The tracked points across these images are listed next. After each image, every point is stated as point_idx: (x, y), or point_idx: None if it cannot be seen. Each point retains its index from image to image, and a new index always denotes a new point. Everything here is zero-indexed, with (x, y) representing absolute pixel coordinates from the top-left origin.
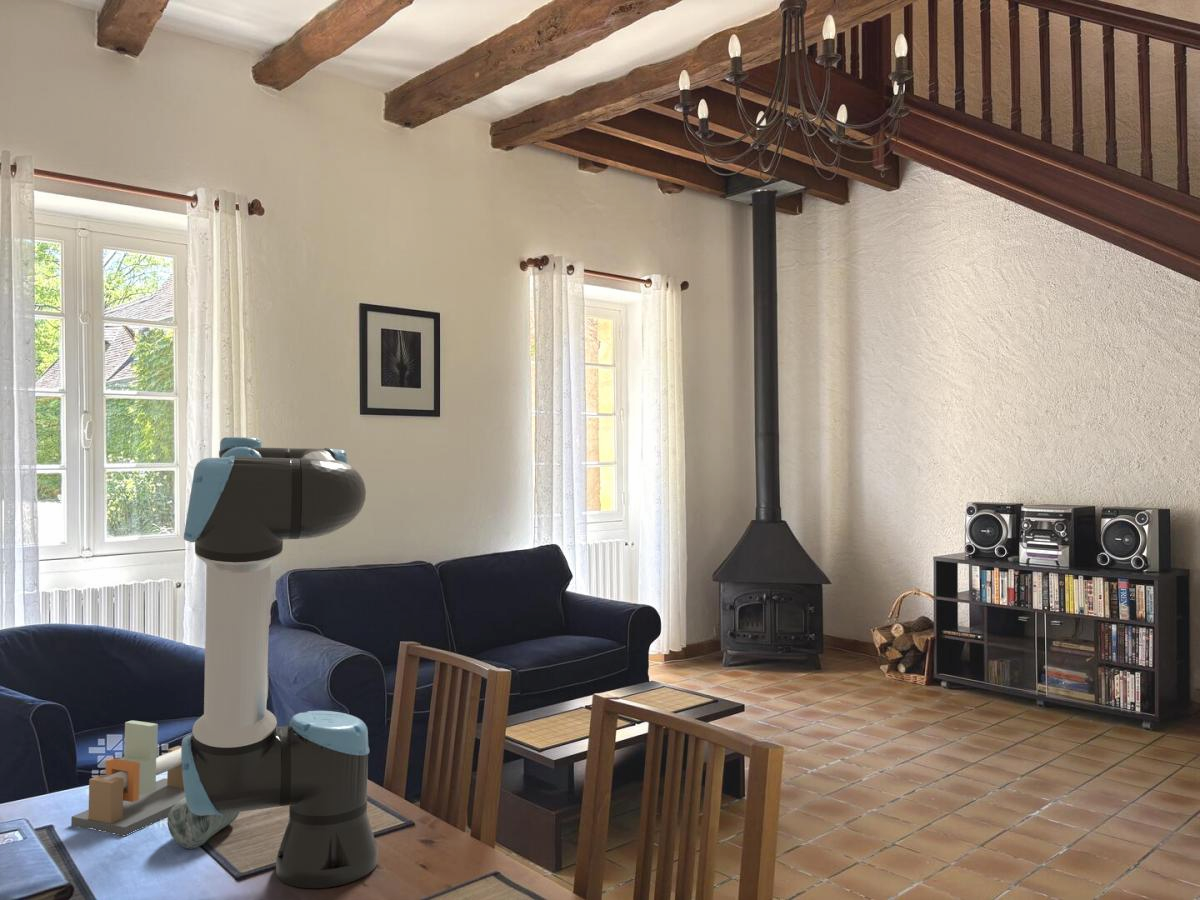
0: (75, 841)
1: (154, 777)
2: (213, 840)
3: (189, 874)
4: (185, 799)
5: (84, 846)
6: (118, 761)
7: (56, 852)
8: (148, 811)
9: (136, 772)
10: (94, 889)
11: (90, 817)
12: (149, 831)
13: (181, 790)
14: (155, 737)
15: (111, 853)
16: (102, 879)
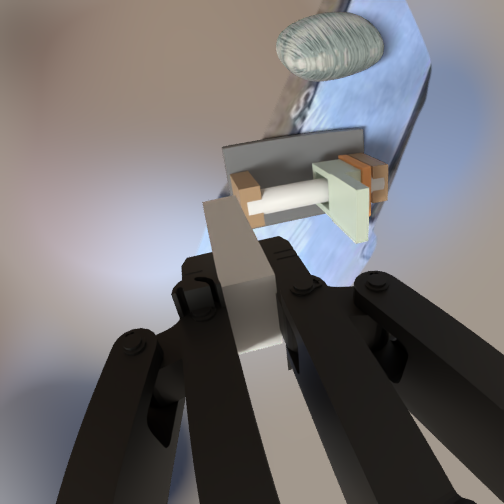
0: (382, 161)
1: (320, 167)
2: None
3: (381, 2)
4: (375, 45)
5: (386, 143)
6: (369, 196)
7: (402, 154)
8: (323, 145)
9: (360, 164)
10: (429, 61)
11: None
12: (338, 115)
13: (255, 173)
14: (350, 182)
15: (387, 104)
16: (418, 68)
